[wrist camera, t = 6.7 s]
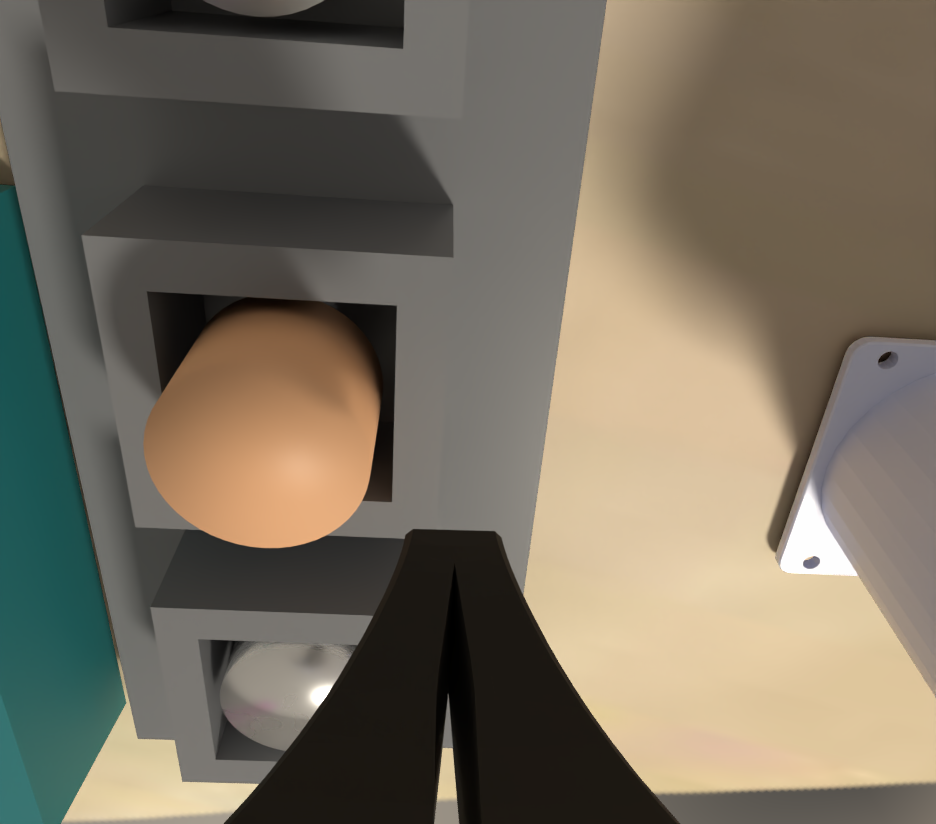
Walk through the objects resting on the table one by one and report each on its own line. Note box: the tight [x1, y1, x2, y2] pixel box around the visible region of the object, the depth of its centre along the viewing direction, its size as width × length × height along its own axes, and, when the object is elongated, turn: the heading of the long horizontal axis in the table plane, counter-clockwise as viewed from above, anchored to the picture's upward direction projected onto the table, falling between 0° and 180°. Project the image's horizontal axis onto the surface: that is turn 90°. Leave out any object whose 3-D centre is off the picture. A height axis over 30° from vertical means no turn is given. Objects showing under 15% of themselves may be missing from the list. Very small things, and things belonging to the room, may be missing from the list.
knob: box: [220, 641, 357, 751], centre depth 22 cm, size 4×4×3 cm
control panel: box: [0, 0, 607, 784], centre depth 18 cm, size 12×30×5 cm, turn 176°
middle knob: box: [143, 297, 383, 548], centre depth 15 cm, size 4×4×3 cm
